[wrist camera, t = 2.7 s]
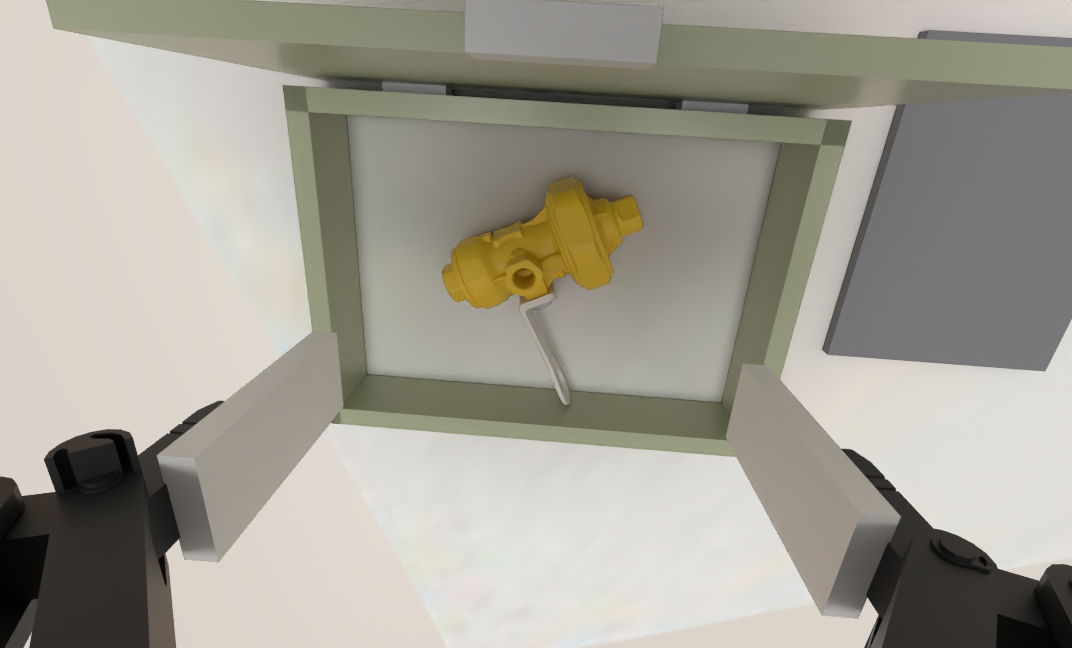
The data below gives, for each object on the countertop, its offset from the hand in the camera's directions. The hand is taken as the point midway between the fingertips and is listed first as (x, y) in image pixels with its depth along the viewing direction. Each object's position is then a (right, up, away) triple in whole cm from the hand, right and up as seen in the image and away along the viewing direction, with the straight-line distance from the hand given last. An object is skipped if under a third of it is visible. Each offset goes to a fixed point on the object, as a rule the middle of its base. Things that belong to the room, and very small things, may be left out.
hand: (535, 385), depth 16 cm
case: (+1, +5, +12) cm, 13 cm away
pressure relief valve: (+2, +4, +12) cm, 13 cm away
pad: (+23, +7, +9) cm, 26 cm away
